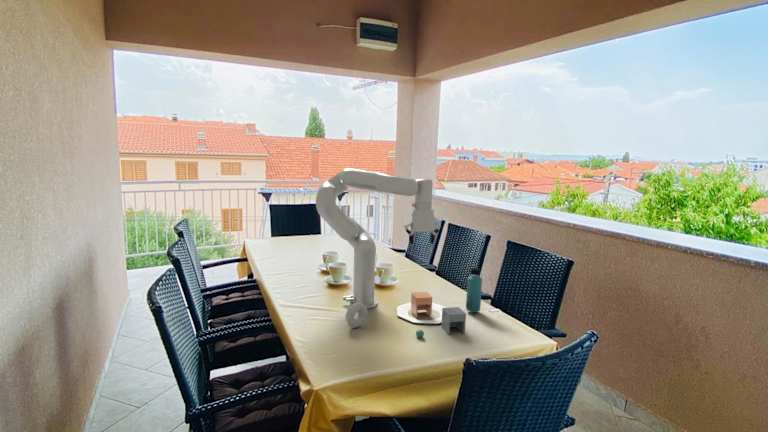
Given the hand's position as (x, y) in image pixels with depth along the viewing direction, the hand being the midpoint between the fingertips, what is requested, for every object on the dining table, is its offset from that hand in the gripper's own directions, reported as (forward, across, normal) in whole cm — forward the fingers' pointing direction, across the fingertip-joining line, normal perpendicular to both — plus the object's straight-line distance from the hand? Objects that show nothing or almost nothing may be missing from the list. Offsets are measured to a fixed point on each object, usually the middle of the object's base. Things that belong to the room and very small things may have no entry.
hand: (421, 243), depth 182 cm
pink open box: (+27, -4, -14) cm, 31 cm away
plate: (+29, -2, -13) cm, 32 cm away
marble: (+28, -11, -35) cm, 46 cm away
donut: (+28, -33, -22) cm, 49 cm away
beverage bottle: (+28, +20, -15) cm, 38 cm away
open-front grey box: (+28, +4, -31) cm, 42 cm away
